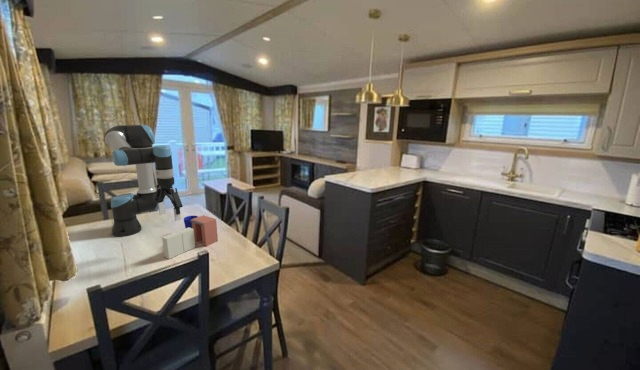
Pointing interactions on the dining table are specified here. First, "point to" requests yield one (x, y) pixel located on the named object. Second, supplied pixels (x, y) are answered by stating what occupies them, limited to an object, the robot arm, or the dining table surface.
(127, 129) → the robot arm
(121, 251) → the dining table surface
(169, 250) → the white double cube block
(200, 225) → the dispenser
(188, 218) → the mug
